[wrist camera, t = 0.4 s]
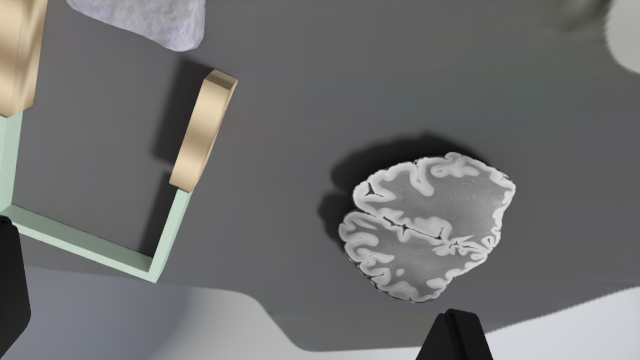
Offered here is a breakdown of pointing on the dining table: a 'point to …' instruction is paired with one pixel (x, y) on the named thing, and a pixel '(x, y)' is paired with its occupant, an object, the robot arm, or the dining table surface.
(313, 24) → the dining table surface
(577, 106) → the dining table surface
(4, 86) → the blocks
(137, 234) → the dining table surface
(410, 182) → the brain slice
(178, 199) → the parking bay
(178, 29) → the stone block
